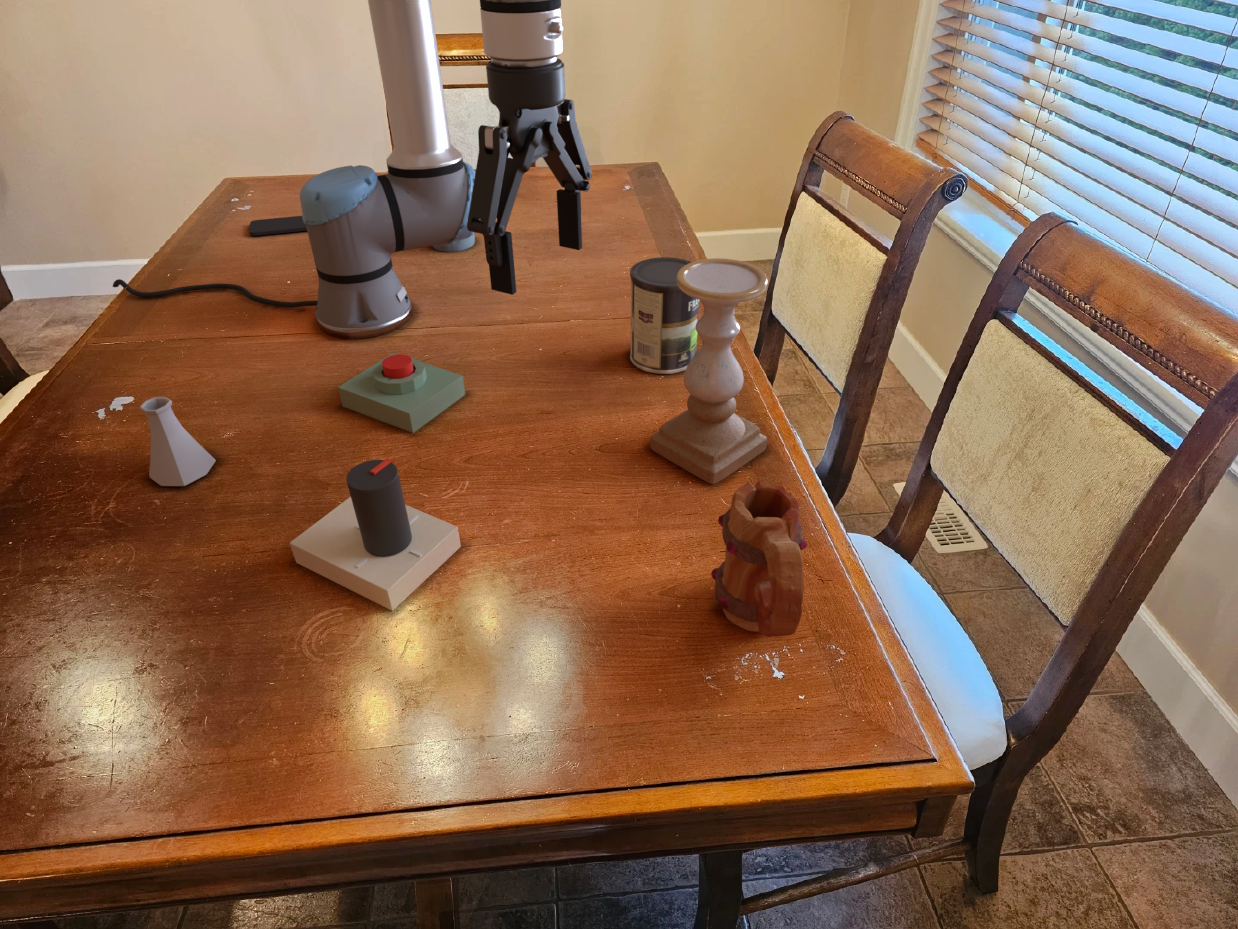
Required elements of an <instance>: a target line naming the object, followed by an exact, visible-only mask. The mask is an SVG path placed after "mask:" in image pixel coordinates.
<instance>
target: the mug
mask: <svg viewBox="0 0 1238 929" xmlns="http://www.w3.org/2000/svg"><path fill="white" fill-rule="evenodd" d="M799 511H800V503H799V500H798V499H797V498H796V497H794V495H793V494H792V493H790V492H787V490H786V489H785V487H784V486H782V485H780V484H777V483H773V482H768V481H763V480H759V481H757V482H756V484H753V483H751V482H750V481H747V482H746V483H745V484H743V485H742V486H740V487H739V488H737V489H736V490H735V492H734V493H733V495H732V498H731V505H730V508H728V510H727V511H726V512H725V513H722V514H721V515H719V516H718V519H717V523H718V524H719V526H721V528H722V530H721V531H722V532H721V534H722V540H723V543H724V545H725V557H724V561H722V563H721V564H720V565H719V566H718V567H716V568H713V569H712V570H711V573H710V575H711V578H712V579H713V581H714V594H715V597H716V599H717V604H718V606H719V607H720V608H721V609H722V611H723V614H724V616H725V617H726V619H727V620H728V621H729V622H731V623H732V624H734V625H736V626H737V627H739V628H741V629H744V630H746V631H748V632H755V633H760V634H761V635H762V636H764V637H767V638H773V637H783V636H784V637H785V636H791V635H794V634H795V633H796V631H797V629H798V627H799V625H800V621H801V618H802V613H803V600H804V593H805V581H804V560H803V556H802V551H803V550H805V549H806V548H807V546H808V543H807V541H806V539H805V538H804V537H803V527H802V524H801V522H800V520H799V519H800V512H799Z"/></svg>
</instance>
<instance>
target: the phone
mask: <svg viewBox="0 0 1238 929" xmlns="http://www.w3.org/2000/svg"><path fill="white" fill-rule="evenodd" d="M306 231H307V227H306V224H305V223H304V222H303V219H302V215H296V216H295V215H294V216H284V217H274V218H264V219H263V218H262V219H254V220H251V221H250V222H249V227H248V234H249V235H250V236H252V237H258V236H266V235H267V236H268V235H276V234H277V235H278V234H287V233H297V232H306Z"/></svg>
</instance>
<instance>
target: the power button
mask: <svg viewBox="0 0 1238 929" xmlns="http://www.w3.org/2000/svg"><path fill="white" fill-rule="evenodd" d="M396 354H397V355H392V356H389V355H388V356H389V357H387V356H386V357H387V358H386V357H384V358H385V359H384V358H383V359H384V360H383V361H382V367H383V371H384V375H385V377H386V378H389V379H401V378H405V377H408V376H410V375H411V374H413V372H414V369H413V363H412V359H411V358H412V357H411V356H410V355H407V354H402V353H401V354H400V353H399V354H398V353H396Z"/></svg>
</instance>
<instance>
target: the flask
mask: <svg viewBox="0 0 1238 929" xmlns="http://www.w3.org/2000/svg"><path fill="white" fill-rule="evenodd" d="M172 405H173V400H171V399H170V398H168V397H167V396H154V397H151V398H149V399H147V400H144V401H143V402H142V404H141V405H140V406H139V410H140V411H142V412H143V413H144V414H145V417H146V419H147V420H148V426H149V431H150V454H149V455H150V456H149V470H148V472H149V473H148V477H149V478H150V479H151V480H152V481H154V482H155V483H157V485H159V486H160V487H185V486H187V485H190V484H191V483H193V482H195V481H197V480H200V478H203V477H205V476H206V475H208V473H209V472H210V470H211V469H212V467H213V466H214V464H215V463H216V461H217V460H216V459H215V458H214V457H213V456H212V454H211V453H209V452H208V451H207V450H206V449H205V448H204V447H203V446H202V445H201V444H200V443H199V442H198V441H197V440H196V439H195V438H194V437H193V436H192V435H191V434H190V433H189V432H188V431H187V430H186V429H185V428H184V427H183V425H182V424H181V422H180V421H179V420H178V418H177V417H176V416H175V413H174V411H173V409H172Z"/></svg>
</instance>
